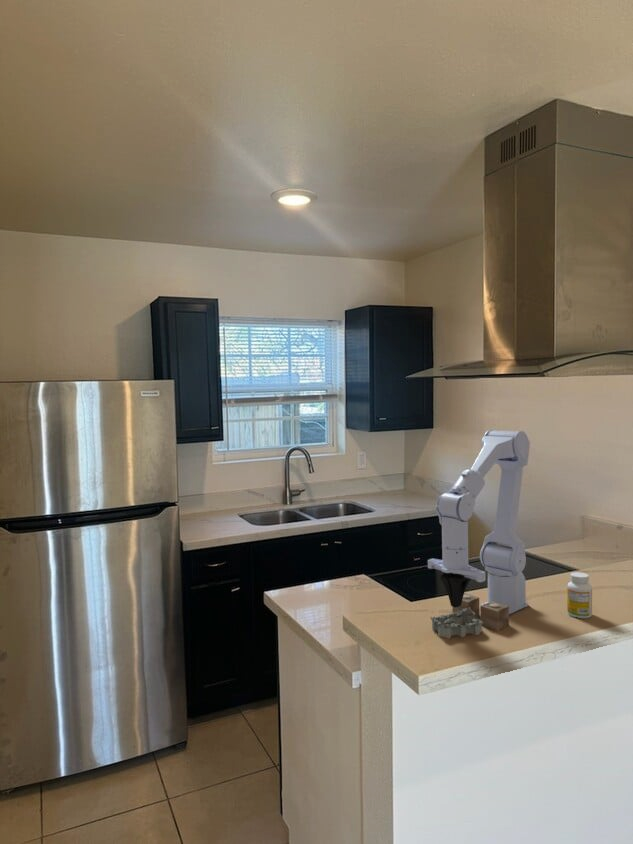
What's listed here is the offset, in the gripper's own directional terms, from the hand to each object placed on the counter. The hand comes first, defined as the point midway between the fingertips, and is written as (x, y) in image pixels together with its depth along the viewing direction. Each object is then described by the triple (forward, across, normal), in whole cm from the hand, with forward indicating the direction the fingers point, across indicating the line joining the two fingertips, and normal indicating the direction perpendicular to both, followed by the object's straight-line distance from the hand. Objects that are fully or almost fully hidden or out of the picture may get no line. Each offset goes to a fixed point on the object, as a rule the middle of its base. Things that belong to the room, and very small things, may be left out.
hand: (456, 605), depth 133 cm
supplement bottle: (+6, +14, +29) cm, 33 cm away
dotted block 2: (+6, +4, +9) cm, 11 cm away
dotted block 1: (+6, -4, +9) cm, 11 cm away
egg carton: (+6, 0, 0) cm, 6 cm away
